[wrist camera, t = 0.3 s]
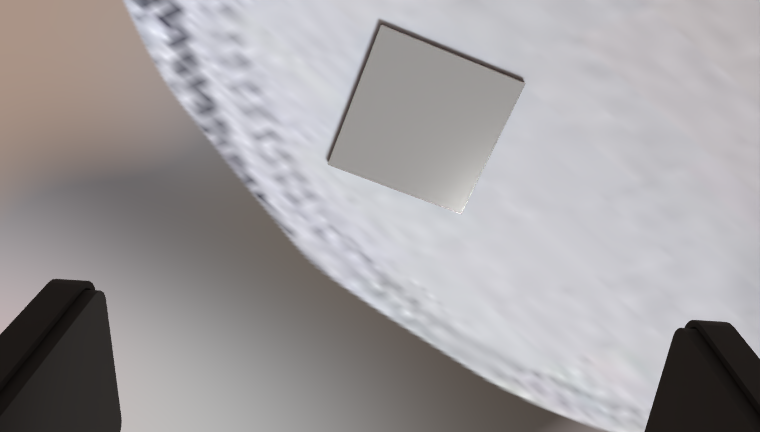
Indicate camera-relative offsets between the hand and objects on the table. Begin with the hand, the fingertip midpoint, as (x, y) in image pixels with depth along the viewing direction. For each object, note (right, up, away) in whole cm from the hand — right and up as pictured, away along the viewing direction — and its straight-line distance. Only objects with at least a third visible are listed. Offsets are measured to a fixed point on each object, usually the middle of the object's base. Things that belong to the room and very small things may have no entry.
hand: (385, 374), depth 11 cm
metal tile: (+3, +9, +33) cm, 35 cm away
